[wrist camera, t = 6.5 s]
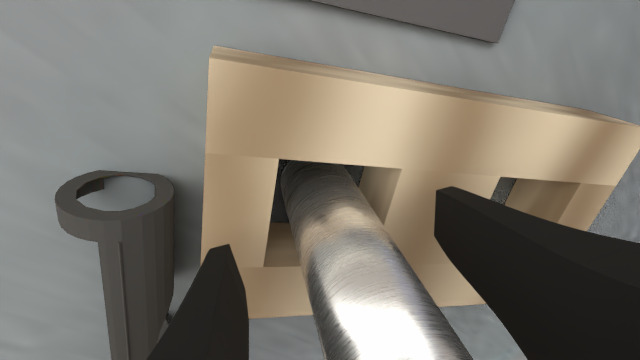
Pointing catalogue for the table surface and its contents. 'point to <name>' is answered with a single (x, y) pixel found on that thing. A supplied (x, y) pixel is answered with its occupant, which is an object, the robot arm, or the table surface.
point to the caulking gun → (128, 259)
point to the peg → (359, 273)
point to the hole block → (388, 162)
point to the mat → (440, 14)
